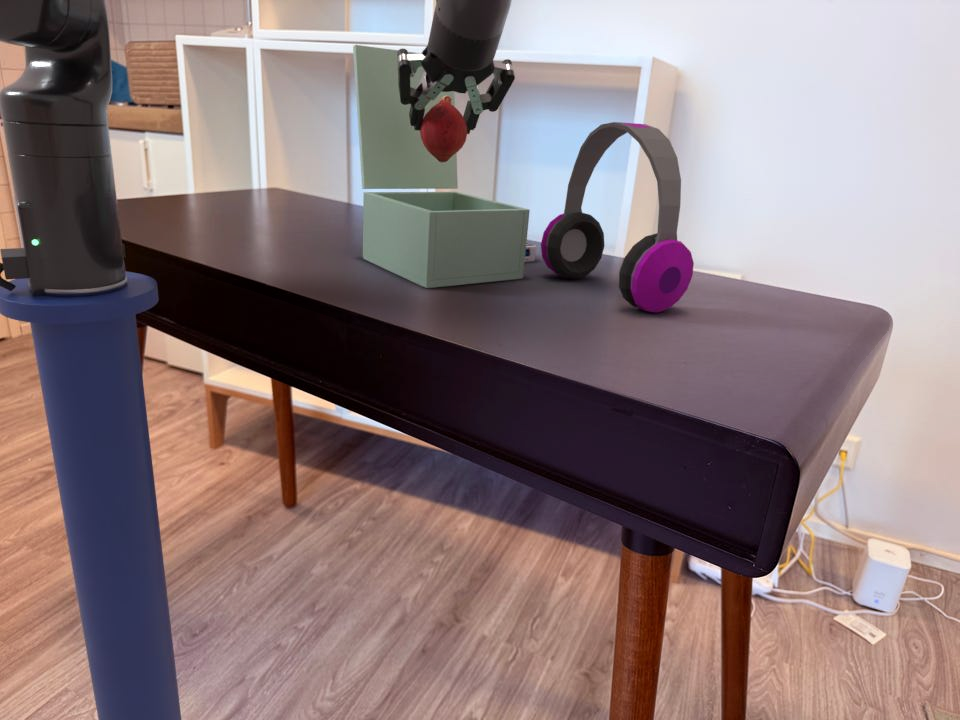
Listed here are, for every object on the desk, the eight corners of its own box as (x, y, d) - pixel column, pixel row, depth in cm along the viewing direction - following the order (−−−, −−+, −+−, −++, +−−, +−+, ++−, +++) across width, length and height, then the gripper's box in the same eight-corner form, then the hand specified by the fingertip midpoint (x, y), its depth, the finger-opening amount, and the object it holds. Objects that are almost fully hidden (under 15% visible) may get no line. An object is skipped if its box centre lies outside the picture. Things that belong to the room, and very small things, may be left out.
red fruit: (449, 165, 81) (453, 94, 78) (410, 160, 83) (412, 92, 81) (472, 164, 86) (477, 97, 83) (435, 160, 88) (438, 95, 86)
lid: (453, 57, 92) (436, 63, 95) (355, 44, 84) (340, 51, 87) (457, 188, 96) (441, 189, 99) (364, 188, 87) (350, 190, 91)
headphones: (532, 274, 89) (548, 116, 82) (584, 271, 93) (604, 121, 86) (634, 319, 72) (665, 125, 65) (693, 313, 76) (728, 130, 69)
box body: (523, 278, 87) (529, 209, 84) (426, 288, 78) (429, 212, 75) (452, 252, 99) (456, 191, 96) (362, 258, 91) (363, 192, 88)
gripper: (407, 29, 66) (387, 147, 81) (541, 44, 70) (499, 153, 85) (400, -22, 69) (382, 100, 84) (529, -5, 73) (490, 109, 88)
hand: (441, 126), depth 85 cm, fingers closed on red fruit, 5 cm apart
